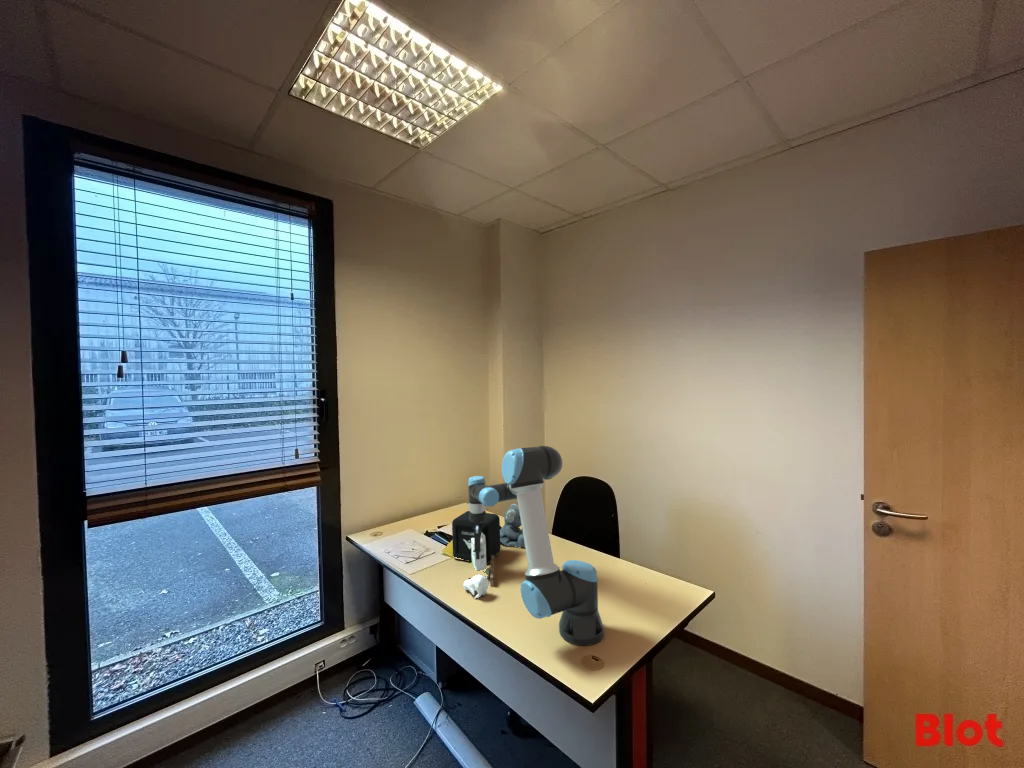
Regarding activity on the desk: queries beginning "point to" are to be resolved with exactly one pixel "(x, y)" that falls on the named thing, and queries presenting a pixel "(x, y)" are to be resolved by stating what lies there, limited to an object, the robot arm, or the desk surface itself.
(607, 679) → the desk surface
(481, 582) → the white lumpy piece
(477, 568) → the ink box
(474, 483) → the robot arm
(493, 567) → the rail
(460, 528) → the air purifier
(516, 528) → the koala plush
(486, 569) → the pad
